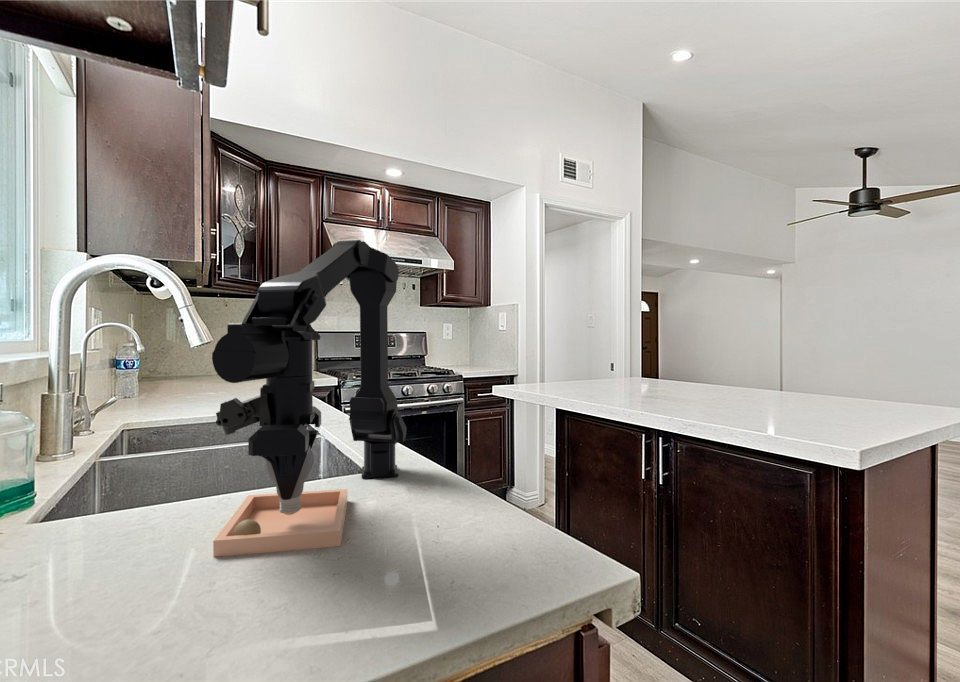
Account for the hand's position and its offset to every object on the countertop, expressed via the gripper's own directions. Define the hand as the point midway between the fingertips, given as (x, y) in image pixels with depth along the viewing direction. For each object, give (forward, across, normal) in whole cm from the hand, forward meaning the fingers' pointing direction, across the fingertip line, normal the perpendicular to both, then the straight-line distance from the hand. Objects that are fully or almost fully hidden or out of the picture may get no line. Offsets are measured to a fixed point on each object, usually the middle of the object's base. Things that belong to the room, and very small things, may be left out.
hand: (290, 492), depth 65 cm
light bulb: (+3, 0, 0) cm, 3 cm away
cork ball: (+4, +6, -4) cm, 8 cm away
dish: (+5, 0, 0) cm, 5 cm away
